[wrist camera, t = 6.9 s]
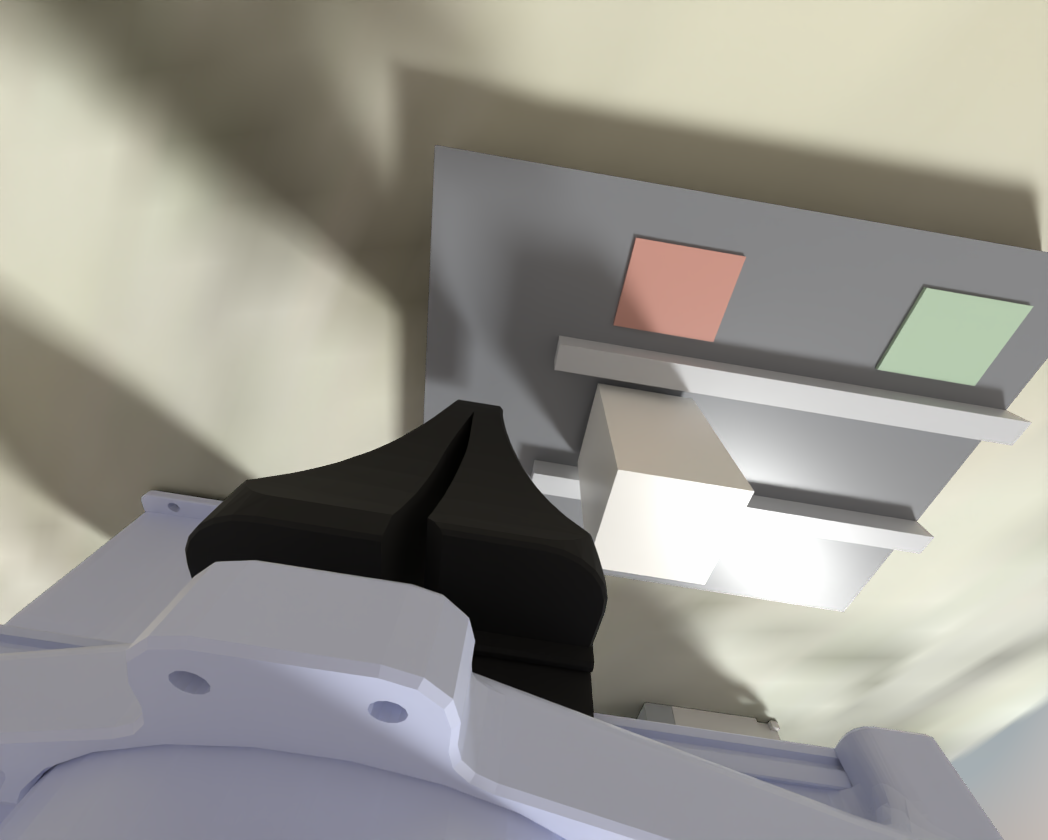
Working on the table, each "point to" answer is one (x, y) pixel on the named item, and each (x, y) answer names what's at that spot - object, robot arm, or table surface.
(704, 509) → the handle
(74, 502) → the table surface
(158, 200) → the table surface
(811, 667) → the table surface
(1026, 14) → the table surface
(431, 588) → the robot arm
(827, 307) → the panel
